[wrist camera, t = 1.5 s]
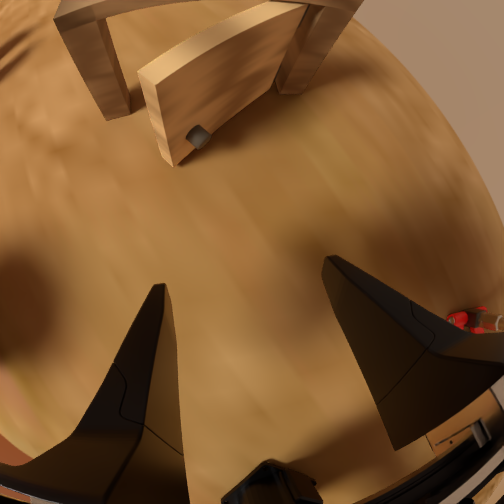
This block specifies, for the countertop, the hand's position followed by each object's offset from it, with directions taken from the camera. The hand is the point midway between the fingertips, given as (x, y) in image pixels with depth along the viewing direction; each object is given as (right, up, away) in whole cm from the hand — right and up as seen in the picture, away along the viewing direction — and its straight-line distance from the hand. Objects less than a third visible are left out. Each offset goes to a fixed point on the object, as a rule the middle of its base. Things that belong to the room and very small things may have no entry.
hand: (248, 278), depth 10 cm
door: (-2, +11, +9) cm, 14 cm away
